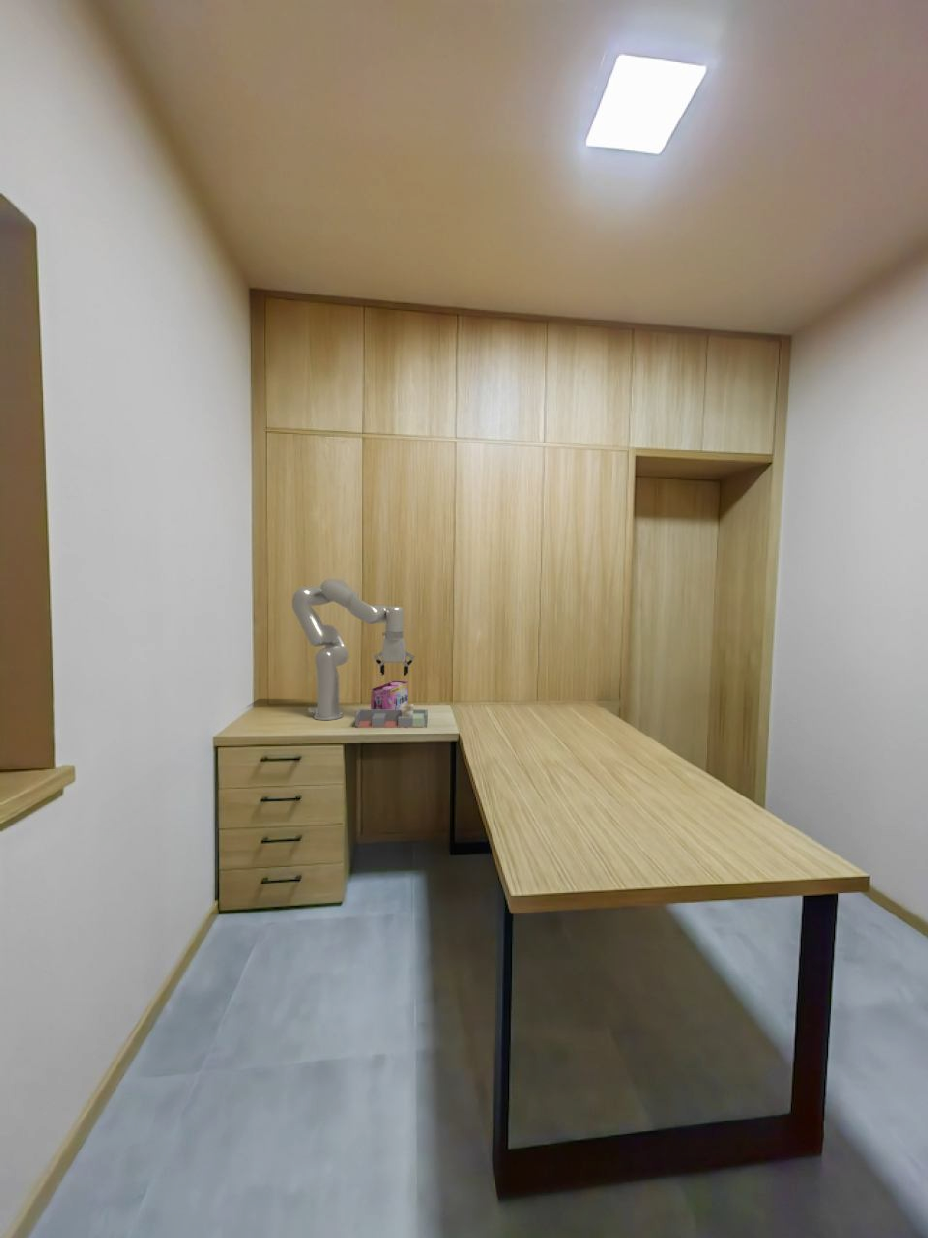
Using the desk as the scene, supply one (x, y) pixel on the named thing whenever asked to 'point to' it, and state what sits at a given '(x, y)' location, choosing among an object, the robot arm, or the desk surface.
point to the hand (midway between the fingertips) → (394, 675)
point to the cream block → (407, 710)
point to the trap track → (390, 718)
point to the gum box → (390, 695)
